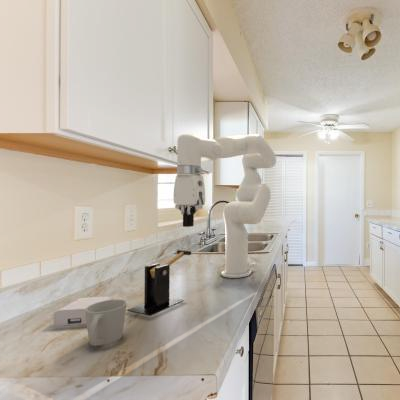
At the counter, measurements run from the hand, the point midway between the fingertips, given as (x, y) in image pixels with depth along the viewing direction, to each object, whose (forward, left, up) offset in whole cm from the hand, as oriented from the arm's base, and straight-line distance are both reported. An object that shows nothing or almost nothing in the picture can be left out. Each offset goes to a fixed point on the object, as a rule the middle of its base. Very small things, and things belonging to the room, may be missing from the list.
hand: (188, 226), depth 92 cm
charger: (+25, -4, -24) cm, 35 cm away
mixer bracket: (+11, +4, -23) cm, 26 cm away
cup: (+27, +17, -24) cm, 40 cm away
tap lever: (+6, +2, -12) cm, 14 cm away
